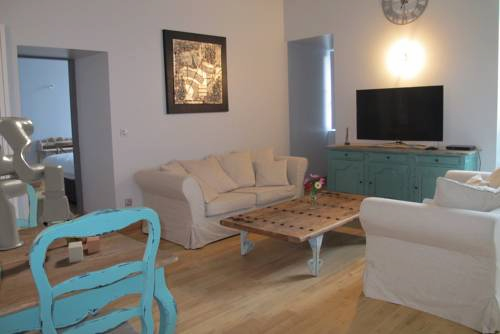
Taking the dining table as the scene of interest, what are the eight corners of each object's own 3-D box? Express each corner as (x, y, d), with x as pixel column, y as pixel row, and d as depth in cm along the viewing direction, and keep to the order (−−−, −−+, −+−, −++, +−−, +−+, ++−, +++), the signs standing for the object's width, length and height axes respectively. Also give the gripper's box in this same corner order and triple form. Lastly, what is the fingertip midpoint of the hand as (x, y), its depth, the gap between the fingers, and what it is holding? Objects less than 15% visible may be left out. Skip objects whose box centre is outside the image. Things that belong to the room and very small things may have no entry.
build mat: (68, 258, 190) (67, 256, 190) (86, 255, 193) (86, 254, 192) (67, 264, 182) (66, 263, 182) (86, 262, 184) (85, 260, 184)
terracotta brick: (88, 249, 201) (87, 236, 200) (100, 248, 202) (99, 235, 201) (88, 255, 193) (87, 241, 192) (100, 253, 195) (99, 239, 194)
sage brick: (53, 234, 197) (52, 221, 196) (65, 233, 198) (64, 220, 197) (51, 240, 189) (50, 226, 188) (64, 238, 191) (63, 225, 190)
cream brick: (70, 256, 190) (69, 242, 189) (83, 254, 192) (81, 241, 191) (69, 262, 182) (68, 248, 182) (83, 260, 184) (81, 246, 183)
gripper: (32, 197, 185) (35, 240, 188) (76, 194, 190) (79, 235, 193) (34, 193, 192) (37, 235, 195) (77, 190, 197) (80, 230, 200)
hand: (58, 235), depth 194 cm, fingers closed on sage brick, 5 cm apart
